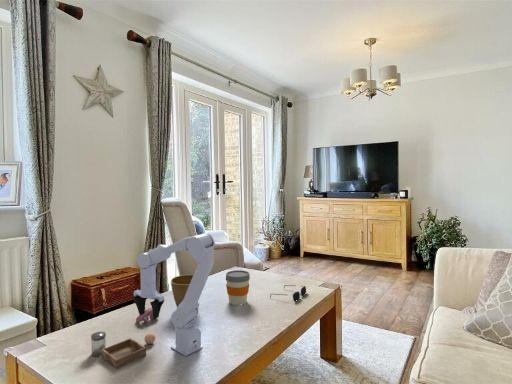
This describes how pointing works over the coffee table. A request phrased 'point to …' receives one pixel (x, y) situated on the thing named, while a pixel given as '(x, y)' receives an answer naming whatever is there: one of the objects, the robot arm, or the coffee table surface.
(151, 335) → the ball
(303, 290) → the sunglasses
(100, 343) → the shaker
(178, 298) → the plant pot
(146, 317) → the video game controller
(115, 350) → the tray
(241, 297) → the reusable coffee cup
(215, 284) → the coffee table surface
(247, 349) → the coffee table surface
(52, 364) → the coffee table surface
